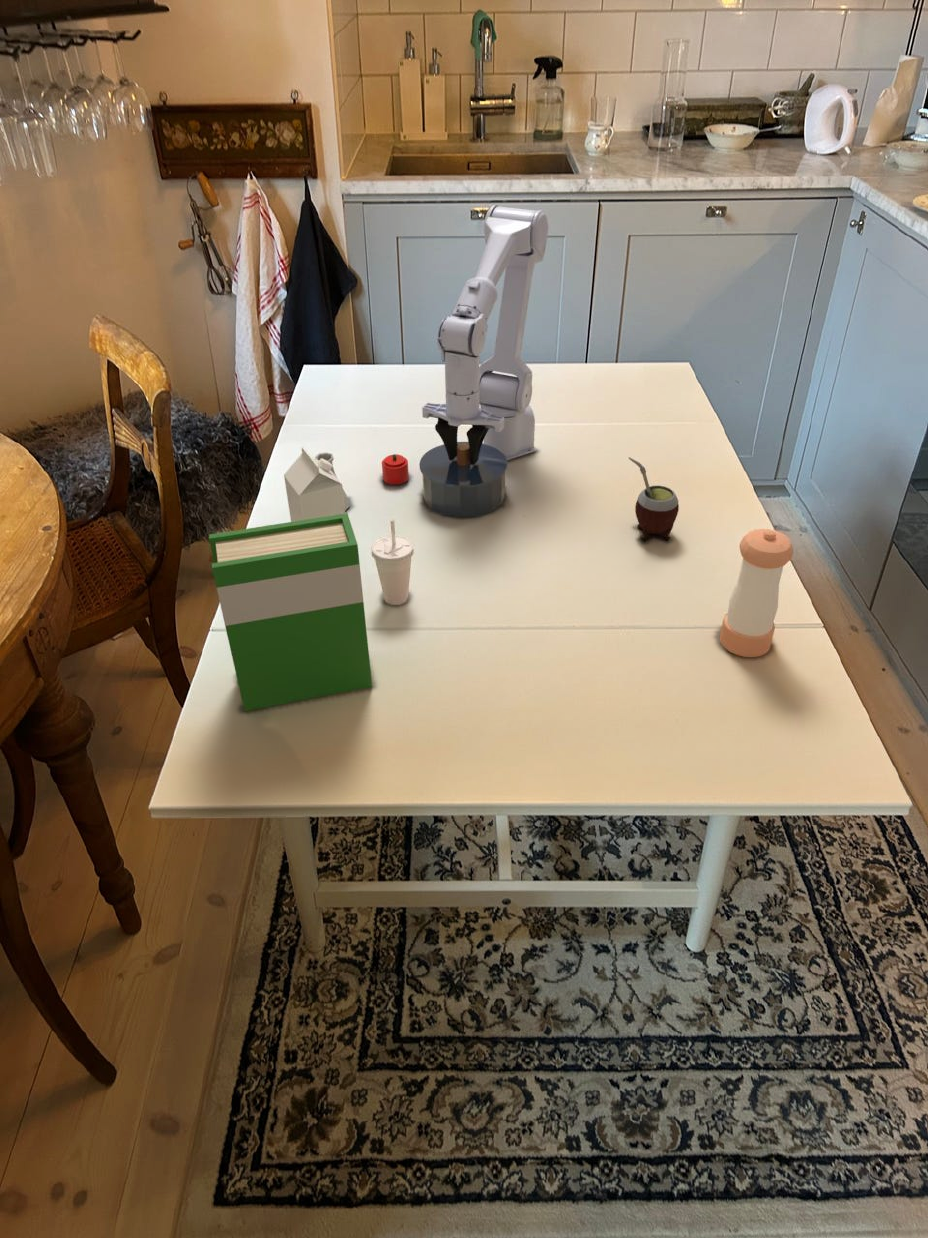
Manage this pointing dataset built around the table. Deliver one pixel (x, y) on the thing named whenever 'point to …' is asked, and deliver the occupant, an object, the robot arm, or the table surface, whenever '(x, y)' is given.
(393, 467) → the red pepper
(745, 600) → the pepper shaker
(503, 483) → the pot
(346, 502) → the flask
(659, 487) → the mate gourd
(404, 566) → the smoothie
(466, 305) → the robot arm
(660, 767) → the table surface
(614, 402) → the table surface
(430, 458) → the lid
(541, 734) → the table surface
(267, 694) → the hardback book
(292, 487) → the milk carton
